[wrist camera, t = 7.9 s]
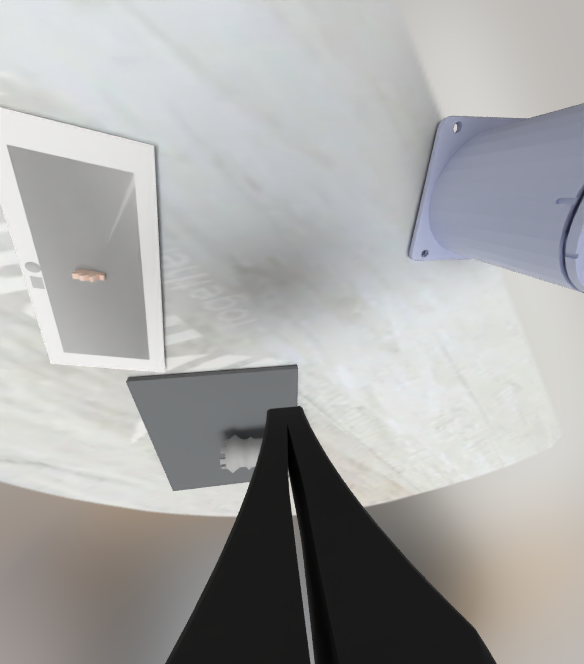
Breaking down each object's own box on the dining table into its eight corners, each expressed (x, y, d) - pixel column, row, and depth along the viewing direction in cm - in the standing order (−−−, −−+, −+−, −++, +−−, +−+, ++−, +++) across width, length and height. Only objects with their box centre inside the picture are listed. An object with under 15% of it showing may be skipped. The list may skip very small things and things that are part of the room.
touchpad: (161, 149, 14) (145, 142, 12) (169, 364, 21) (160, 381, 19) (-10, 106, 12) (-59, 90, 10) (60, 355, 19) (39, 372, 17)
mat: (297, 365, 22) (297, 368, 21) (295, 471, 30) (296, 476, 29) (128, 377, 20) (126, 381, 20) (174, 486, 28) (173, 491, 28)
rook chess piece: (310, 489, 22) (220, 493, 22) (306, 451, 26) (231, 453, 26) (310, 449, 21) (214, 453, 20) (306, 415, 25) (226, 418, 25)
